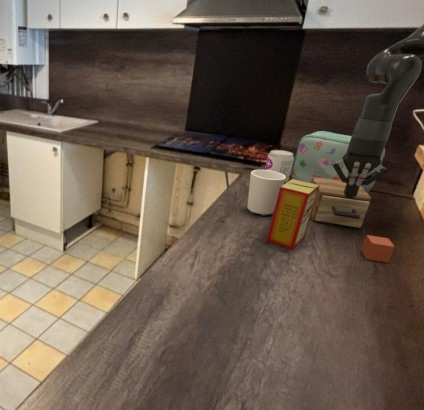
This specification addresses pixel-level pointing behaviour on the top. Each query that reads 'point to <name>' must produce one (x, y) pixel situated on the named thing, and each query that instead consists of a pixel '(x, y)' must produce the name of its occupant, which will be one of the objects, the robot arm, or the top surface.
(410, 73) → the robot arm
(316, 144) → the lunch box
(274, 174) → the cup
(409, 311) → the top surface
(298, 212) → the baking soda box
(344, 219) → the drawer
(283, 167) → the supplement can
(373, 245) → the block
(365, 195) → the cabinet
